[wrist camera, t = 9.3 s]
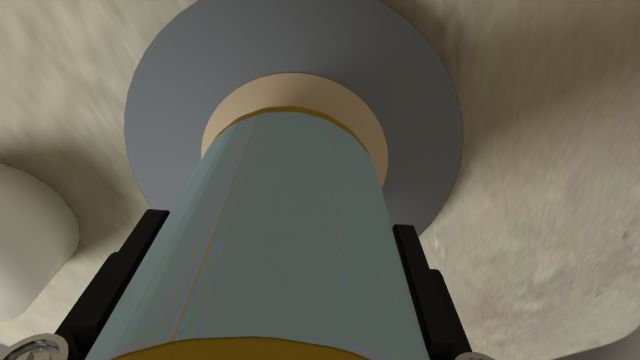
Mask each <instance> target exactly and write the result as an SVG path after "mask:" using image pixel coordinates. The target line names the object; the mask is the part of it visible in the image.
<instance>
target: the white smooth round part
mask: <svg viewBox="0 0 640 360" xmlns="http://www.w3.org/2000/svg"><path fill="white" fill-rule="evenodd" d="M79 241H80V229H79V225H78V222H77V219H76V217H75V215H74V213H73V212H72V210H71V208H70V207H69V206H68V204H67V203H66V202H65V201H64V200H63V198H62V197H61V196H60V195H59V194H58V193H56V192H55V191H54V190H53V189H52V188H51V187H49V186H48V185H47V184H45V183H44V182H42V181H41V180H39V179H38V178H36V177H34V176H32V175H30V174H28V173H26V172H24V171H22V170H19V169H17V168H14V167H11V166H8V165H5V164H0V323H3V322H7V321H10V320H12V319H14V318H16V317H18V316H20V315H21V314H22V313H24V312H25V310H26V309H27V308H28V307H29V306H30V305H31V303H32V302H33V301H34V300H35V299H36V298H37V296H38V295H39V294H40V293H41V292H42V290H43V289H44V288H45V287H46V286H47V284H48V283H49V282H50V281H51V280H52V279H53V277H54V276H55V275H56V274H57V273H58V271H59V270H60V269H61V268H62V267H63V266H64V264H65V263H66V262H67V261H68V260H69V258H70V257H71V256H72V255H73V254H74V252H75V251H76V249H77V247H78V245H79Z"/></svg>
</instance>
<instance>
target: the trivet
mask: <svg viewBox="0 0 640 360" xmlns="http://www.w3.org/2000/svg"><path fill="white" fill-rule="evenodd" d="M281 106H297V107H303V108H307V109H310V110H314V111H318V112H322V113H324V114H327V115H329V116H331V117H332V118H334V119H336V120H337V121H339V122H340V123H342V124H344V125H345V126H347V127H348V128H349V129H350V130H352V131H353V132H354V133H355V135H356V136H357V137H358V138H359V140H360V141H361V142H362V143H363V144H364V146H365V147H366V148H367V150H368V152H369V154H370V157H371V159H372V161H373V164H374V167H375V170H376V173H377V176H378V179H379V183H380V186H381V190H382V193H383V197H384V200H385V204H386V207H387V211H388V214H389V218H390V221H391V225H392V228H393V226H394V224H405V225H413V226H414V227H415V230H416V233H417V235H418V237H419V236H420V235H421V234H422V233H423V232H424V231H425V229H426V228H427V227H428V226H429V225H430V224H431V223H432V221H433V220H434V219H435V217H436V216H437V215H438V213H439V212H440V210H441V209H442V207H443V205H444V203H445V202H446V200H447V198H448V196H449V194H450V192H451V189H452V187H453V184H454V182H455V179H456V177H457V173H458V169H459V165H460V160H461V154H462V143H463V129H462V115H461V111H460V106H459V101H458V96H457V93H456V91H455V88H454V85H453V83H452V80H451V77H450V75H449V73H448V71H447V69H446V68H445V66H444V64H443V62H442V60H441V59H440V57H439V55H438V54H437V52H436V51H435V50H434V49H433V47H432V46H431V45H430V43H429V42H428V41H427V40H426V38H425V37H424V36H423V35H422V34H421V33H420V32H419V31H418V30H417V29H416V28H415V27H414V26H413V25H412V24H411V23H410V22H409V21H408V20H407V19H406V18H404V17H403V16H401V15H400V14H399V13H397V12H396V11H394V10H393V9H391V8H390V7H389V6H387V5H386V4H384V3H383V2H381V1H379V0H198V1H197V2H195V3H194V4H192V5H191V6H190V7H188V8H187V9H185V10H184V11H182V12H181V13H179V14H178V15H177V16H176V17H175V18H174V19H173V20H172V21H171V22H170V23H168V24H167V25H166V26H165V27H164V28H163V29H162V30H161V31H160V32H159V34H158V35H157V36H156V38H155V39H154V40H153V42H152V43H151V44H150V46H149V47H148V48H147V50H146V51H145V53H144V55H143V57H142V59H141V60H140V62H139V64H138V66H137V68H136V70H135V73H134V76H133V79H132V82H131V85H130V88H129V91H128V95H127V101H126V108H125V126H124V134H125V141H126V149H127V155H128V158H129V162H130V165H131V169H132V172H133V175H134V177H135V179H136V182H137V184H138V186H139V188H140V191H141V192H142V194H143V196H144V197H145V199H146V201H147V202H148V204H149V206H150V207H151V209H156V210H168V211H170V212H171V211H172V209H173V207H174V205H175V204H176V202H177V200H178V199H179V197H180V195H181V193H182V192H183V190H184V188H185V186H186V185H187V183H188V181H189V180H190V178H191V176H192V174H193V173H194V171H195V169H196V168H197V166H198V164H199V162H200V161H201V159H202V157H203V155H204V154H205V152H206V150H207V149H208V147H209V145H210V144H211V143H212V142H213V140H214V138H215V137H216V136H217V135H218V133H219V132H221V131H222V130H223V129H224V128H225V127H227V126H228V125H229V124H230V123H231V122H233V121H234V120H235V119H237V118H239V117H241V116H243V115H246V114H248V113H251V112H254V111H256V110H259V109H262V108H267V107H281Z"/></svg>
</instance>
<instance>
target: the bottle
mask: <svg viewBox="0 0 640 360" xmlns="http://www.w3.org/2000/svg"><path fill="white" fill-rule="evenodd" d="M85 360H430V358H429V355H428V352H427V349H426V345H425V342H424V339H423V336H422V333H421V329H420V326H419V322H418V319H417V315H416V312H415V308H414V305H413V301H412V298H411V294H410V291H409V287H408V284H407V280H406V276H405V273H404V269H403V266H402V262H401V259H400V255H399V252H398V248H397V245H396V241H395V238H394V234H393V231H392V225H391V221H390V218H389V214H388V211H387V207H386V204H385V200H384V197H383V193H382V190H381V186H380V183H379V179H378V176H377V173H376V170H375V167H374V164H373V161H372V159H371V157H370V154H369V152H368V150H367V148H366V147H365V146H364V144H363V143H362V142H361V141H360V140H359V138H358V137H357V136H356V135H355V133H354V132H353V131H352V130H350V129H349V128H348V127H347V126H345V125H344V124H342V123H340V122H339V121H337V120H336V119H334V118H332V117H331V116H329V115H327V114H324V113H322V112H318V111H314V110H310V109H307V108H303V107H297V106H281V107H267V108H262V109H259V110H256V111H254V112H251V113H248V114H246V115H243V116H241V117H239V118H237V119H235V120H234V121H233V122H231V123H230V124H229V125H228V126H227V127H225V128H224V129H223V130H222V131H221V132H219V133H218V135H217V136H216V137H215V138H214V140H213V142H212V143H211V144H210V145H209V147H208V149H207V150H206V152H205V154H204V155H203V157H202V159H201V161H200V162H199V164H198V166H197V168H196V169H195V171H194V173H193V174H192V176H191V178H190V180H189V181H188V183H187V185H186V186H185V188H184V190H183V192H182V193H181V195H180V197H179V199H178V200H177V202H176V204H175V205H174V207H173V209H172V211H171V212H170V214H169V216H168V217H167V219H166V221H165V223H164V224H163V226H162V228H161V230H160V231H159V233H158V235H157V236H156V238H155V240H154V242H153V243H152V245H151V247H150V248H149V250H148V252H147V254H146V255H145V257H144V259H143V260H142V262H141V264H140V266H139V267H138V269H137V271H136V273H135V274H134V276H133V278H132V279H131V281H130V283H129V285H128V286H127V288H126V290H125V291H124V293H123V295H122V297H121V298H120V300H119V302H118V304H117V305H116V307H115V309H114V310H113V312H112V314H111V316H110V317H109V319H108V321H107V322H106V324H105V326H104V328H103V329H102V331H101V333H100V335H99V336H98V338H97V340H96V341H95V343H94V345H93V347H92V348H91V350H90V352H89V353H88V355H87V357H86V359H85Z"/></svg>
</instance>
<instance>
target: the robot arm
mask: <svg viewBox="0 0 640 360" xmlns="http://www.w3.org/2000/svg"><path fill="white" fill-rule="evenodd" d="M169 214H170V211H168V210H156V209H148V210H147V211H146V212H145V213H144V215H143V216H142V218H141V219H140V221H139V222H138V224H137V225H136V227H135V228H134V230H133V231H132V232H131V234H130V235H129V237H128V238H127V240H126V241H125V243H124V244H123V246H122V247H121V249H120V250H119V251H118V252H114V253H112V254H111V255H110V256H109V257H108V258H107V260H106V261H105V262H104V264H103V265H102V267H101V268H100V270H99V271H98V272H97V274H96V275H95V277H94V278H93V279H92V281H91V282H90V284H89V285H88V287H87V288H86V289H85V291H84V292H83V294H82V295H81V296H80V298H79V299H78V301H77V302H76V304H75V305H74V306H73V308H72V309H71V311H70V312H69V313H68V315H67V316H66V318H65V319H64V321H63V322H62V323H61V325H60V326H59V328H58V329H57V330H56V332H55V333H54V334H49V333H45V334H38V335H34V336H31V337H28V338H25V339H23V340H21V341H19V342H17V343H15V344H13V345H12V346H10V347H9V348H8V349H6V350H5V351H4V352H2V353H1V354H0V360H85V359H86V357H87V355H88V353H89V352H90V350H91V348H92V347H93V345H94V343H95V341H96V340H97V338H98V336H99V335H100V333H101V331H102V329H103V328H104V326H105V324H106V322H107V321H108V319H109V317H110V316H111V314H112V312H113V310H114V309H115V307H116V305H117V304H118V302H119V300H120V298H121V297H122V295H123V293H124V291H125V290H126V288H127V286H128V285H129V283H130V281H131V279H132V278H133V276H134V274H135V273H136V271H137V269H138V267H139V266H140V264H141V262H142V260H143V259H144V257H145V255H146V254H147V252H148V250H149V248H150V247H151V245H152V243H153V242H154V240H155V238H156V236H157V235H158V233H159V231H160V230H161V228H162V226H163V224H164V223H165V221H166V219H167V217H168V216H169ZM392 231H393V234H394V238H395V241H396V245H397V248H398V252H399V255H400V259H401V262H402V266H403V269H404V273H405V276H406V280H407V284H408V287H409V291H410V294H411V298H412V301H413V305H414V308H415V312H416V315H417V319H418V322H419V326H420V329H421V333H422V336H423V339H424V342H425V345H426V349H427V352H428V355H429V358H430V360H495V359H493V358H491V357H489V356H487V355H485V354H481V353H477V352H472V350H471V347H470V344H469V342H468V339H467V337H466V334H465V332H464V329H463V327H462V324H461V322H460V319H459V317H458V314H457V312H456V309H455V307H454V304H453V302H452V299H451V297H450V294H449V292H448V289H447V286H446V284H445V281H444V279H443V276H442V274H441V273H440V271H439V270H436V269H430V268H429V266H428V263H427V260H426V257H425V255H424V252H423V249H422V246H421V244H420V241H419V238H418V235H417V233H416V230H415V227H414V226H413V225H405V224H394V226H393V228H392Z"/></svg>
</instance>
